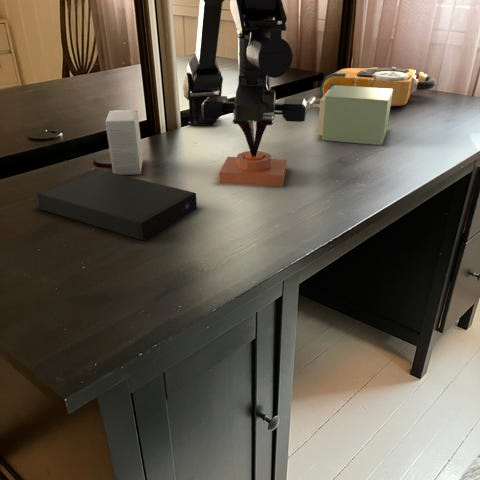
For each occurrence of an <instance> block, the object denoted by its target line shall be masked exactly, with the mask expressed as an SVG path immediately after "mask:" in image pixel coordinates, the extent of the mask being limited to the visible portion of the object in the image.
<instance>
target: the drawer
mask: <svg viewBox="0 0 480 480" xmlns="http://www.w3.org/2000/svg"><path fill="white" fill-rule="evenodd" d="M329 92H330V90H328V91H327V92H326V93H325V95H324V96H322V97H321V98H317V97H315V96H310V98H308V100H306V102H307V108H306V110H307V109H310V108H319V110H318V111H319V112H318V126H317V128H318V129H317V135H318V136H322V134H323V121H324V109H325V97H326V95H327V94H328V93H329Z"/></svg>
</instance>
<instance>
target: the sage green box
mask: <svg viewBox="0 0 480 480" xmlns="http://www.w3.org/2000/svg"><path fill="white" fill-rule="evenodd" d="M392 92H393V89H389V88H372V87H356V86H339V85H334V87H333V88H332V89H331V90H330V92H329V93H328V94H327V95H326V97H325V109H324V121H323V134H322V135H321V136H322V137H321V141H328V142H329V141H330V142H339V143H340V142H342V143H349V144H350V143H351V144H362V145H373V146H374V145H375V146H382V145H383V143H384V140H385V137H386V135H387V132H388V125H389V121H390V120H389V119H390V113H391V107H390V106H391V100H392Z"/></svg>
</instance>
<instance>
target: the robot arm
mask: <svg viewBox="0 0 480 480" xmlns="http://www.w3.org/2000/svg"><path fill="white" fill-rule="evenodd" d="M224 1H225V0H199V11H198V24H197V34H196V35H197V36H196V47H195V48H196V49H195V54H194V55H193V56H192V58H191V59H190V60H189V61H188V63H187V68H186V69H187V70H186V72H184V73H185V74H184V79H183V85H182V93H183V97H184V98H185V99H186V100H187V101H188V107H189V108H188V109H189V121H188V123H187V124H188V125H189V126H204V127H207V126H208V127H213V126H215V125H216V123H217V122H218V120H219V119H220V118H221V116H222V115H223V114H233V115H232V116H233V119H232V124H234V125H238V126H239V127H240V129H241V130H242V132H243V135H244V137H245V140H246V143H247V146H248V149H249V151H250V152H251V155H252V156H256V154H257V151H259V149H260V145H261V141H262V139H263V136H264V133H265V131H266V128H267V126H272V125H274V122H275V120H276V115H281V116H282V118H283V119H284V120H285V121H286V122H293V123H294V122H295V123H297V122H298V123H299V122H300V123H302V122H305V120H306V116H307V100H306V99H305V98H304V97H303V98H301V97H300V98H297V97H285V98H284V101H283V102H282V103H280V102H276V90H275V89H272V87H271V86H272V85H271V84H272V78H273V79H277V78H280V77H282V76H284V75H285V74H286V73H287V72H288V71H289V70H290V68H291V66H292V63H293V54H294V53H293V51H292V48H291V46H290V44H289V42H287V40H285V39H284V38H282V35H283V33H282V32H285V31H287V24H286V23H287V20H288V19H287V14H286V10H285V7H284V4H283V1H282V0H229V4H230V5H229V6H230V7H229V8H230V12H231V15H232V18H233V21H234V23H235V27H236V29H237V30H236V33H237V35H238V37H237V43H238V44H237V45H238V49H237V50H238V51H237V52H238V55H237V57H238V62H237V63H238V82H237V83H238V84H237V88H236V90H235V91H236V92H235V97H234V101H229V99H228V95H222V92H223V81H224V77H223V76H222V72H221V71H220V68H219V64H218V61H217V60H216V59H217V52H218V45H219V43H218V42H219V35H220V27H221V18H222V9H223V3H224ZM254 123H255V128H254Z"/></svg>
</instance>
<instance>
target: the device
mask: <svg viewBox="0 0 480 480" xmlns="http://www.w3.org/2000/svg"><path fill="white" fill-rule="evenodd" d="M436 84H437V81H436V78H435V77H433V76H428V74H427V73H424V72H422V71H420V72H419V73H416V70H415V69H409V68H408V69H407V68H400V67H399V68H398V67H395V66H392V67H367V68H363V67H347V68H341V69H340V70H337V71H335V72H333V73H331V74H329V75H327V76H326V77H325V78H324V79H323V81H322V83H321V86H320V92H321V96H322V97H323V96H324V95H325V93H326V92H327V91H328V90H331V89H332V88H333V87H334V85H339V86H356V87H372V88H389V89H393V92H392V100H391V106H390V108H391V107H399V106H406V105H407V104H408V100H410V97H411V95H413V94H414V92H417V91H424V90H431V89H433V88H434V87H435V86H436Z"/></svg>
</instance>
